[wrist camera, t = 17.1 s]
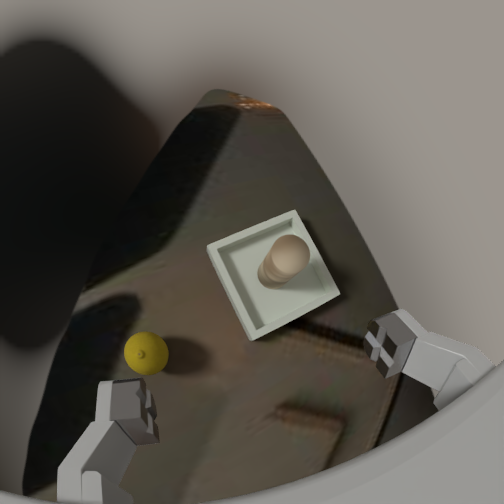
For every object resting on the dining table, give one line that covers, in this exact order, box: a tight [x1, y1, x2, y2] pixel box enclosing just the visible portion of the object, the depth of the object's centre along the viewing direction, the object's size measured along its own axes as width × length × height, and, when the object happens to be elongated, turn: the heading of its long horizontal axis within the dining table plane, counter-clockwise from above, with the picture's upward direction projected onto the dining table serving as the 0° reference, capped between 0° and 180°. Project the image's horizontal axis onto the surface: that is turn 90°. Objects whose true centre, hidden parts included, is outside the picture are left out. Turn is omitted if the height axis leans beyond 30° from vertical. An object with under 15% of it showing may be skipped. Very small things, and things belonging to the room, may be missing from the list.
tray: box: [207, 210, 340, 341], centre depth 42 cm, size 14×14×3 cm
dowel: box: [257, 234, 310, 289], centre depth 38 cm, size 4×4×10 cm
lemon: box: [124, 332, 169, 375], centre depth 34 cm, size 6×6×8 cm
